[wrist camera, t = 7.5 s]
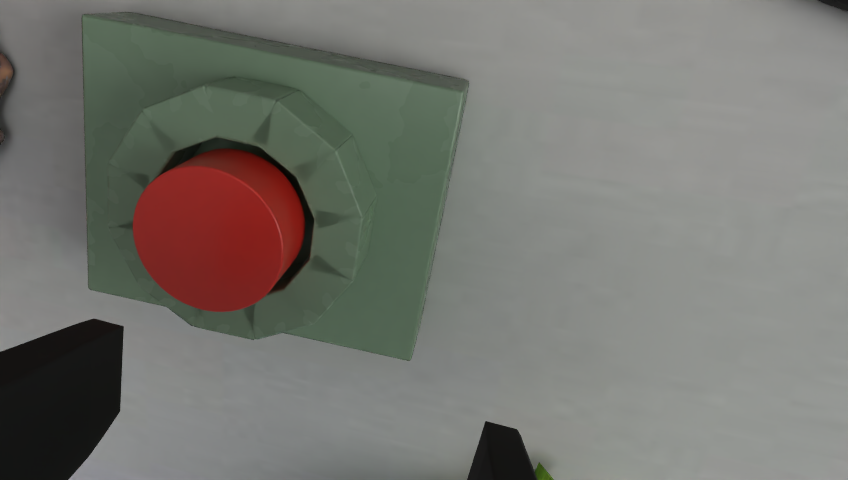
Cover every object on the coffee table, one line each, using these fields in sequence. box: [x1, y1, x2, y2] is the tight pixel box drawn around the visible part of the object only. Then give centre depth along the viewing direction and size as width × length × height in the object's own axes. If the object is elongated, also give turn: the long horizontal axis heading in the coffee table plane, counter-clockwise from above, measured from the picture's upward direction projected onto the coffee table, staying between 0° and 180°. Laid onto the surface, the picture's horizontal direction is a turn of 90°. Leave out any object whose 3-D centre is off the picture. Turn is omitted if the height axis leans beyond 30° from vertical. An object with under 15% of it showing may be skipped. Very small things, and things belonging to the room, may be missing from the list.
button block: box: [82, 12, 469, 361], centre depth 18 cm, size 10×8×4 cm
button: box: [133, 148, 305, 312], centre depth 15 cm, size 4×4×2 cm
